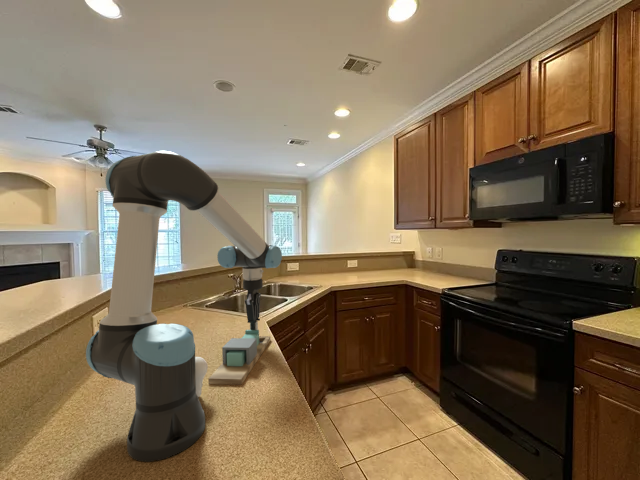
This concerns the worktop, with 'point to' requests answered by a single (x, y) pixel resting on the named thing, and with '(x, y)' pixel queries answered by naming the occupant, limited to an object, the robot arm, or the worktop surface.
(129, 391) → the worktop surface
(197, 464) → the worktop surface
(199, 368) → the lightbulb
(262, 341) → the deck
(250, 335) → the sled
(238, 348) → the tunnel
